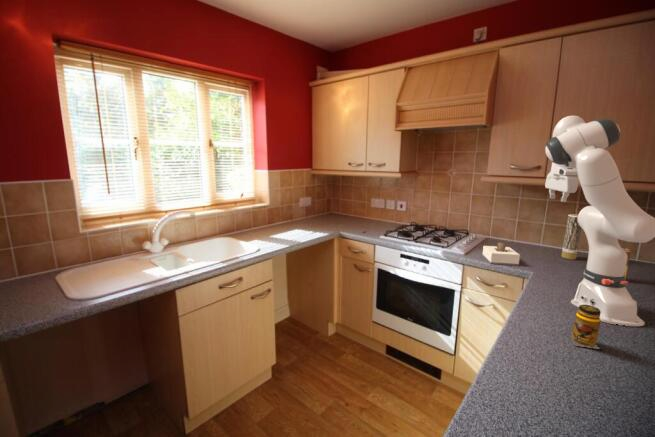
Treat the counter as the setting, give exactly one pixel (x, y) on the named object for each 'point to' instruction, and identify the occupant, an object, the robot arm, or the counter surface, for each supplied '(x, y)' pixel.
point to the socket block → (501, 256)
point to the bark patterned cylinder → (571, 237)
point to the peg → (501, 247)
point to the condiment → (586, 325)
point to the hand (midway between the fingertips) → (557, 200)
